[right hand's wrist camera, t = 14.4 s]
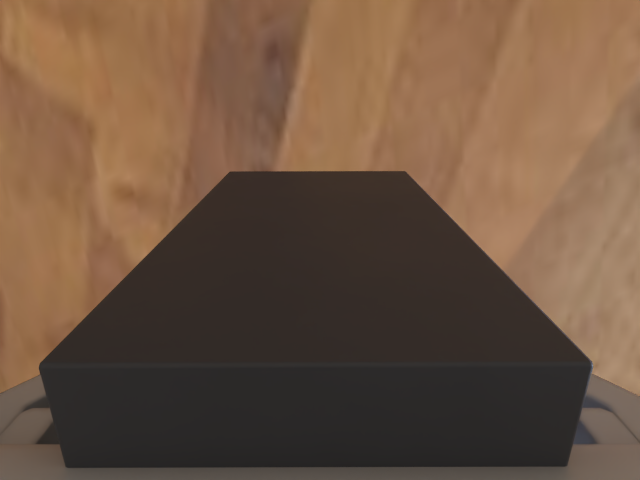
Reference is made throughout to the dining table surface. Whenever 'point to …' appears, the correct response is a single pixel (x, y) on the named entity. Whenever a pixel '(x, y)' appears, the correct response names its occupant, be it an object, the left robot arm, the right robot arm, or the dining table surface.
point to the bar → (316, 341)
